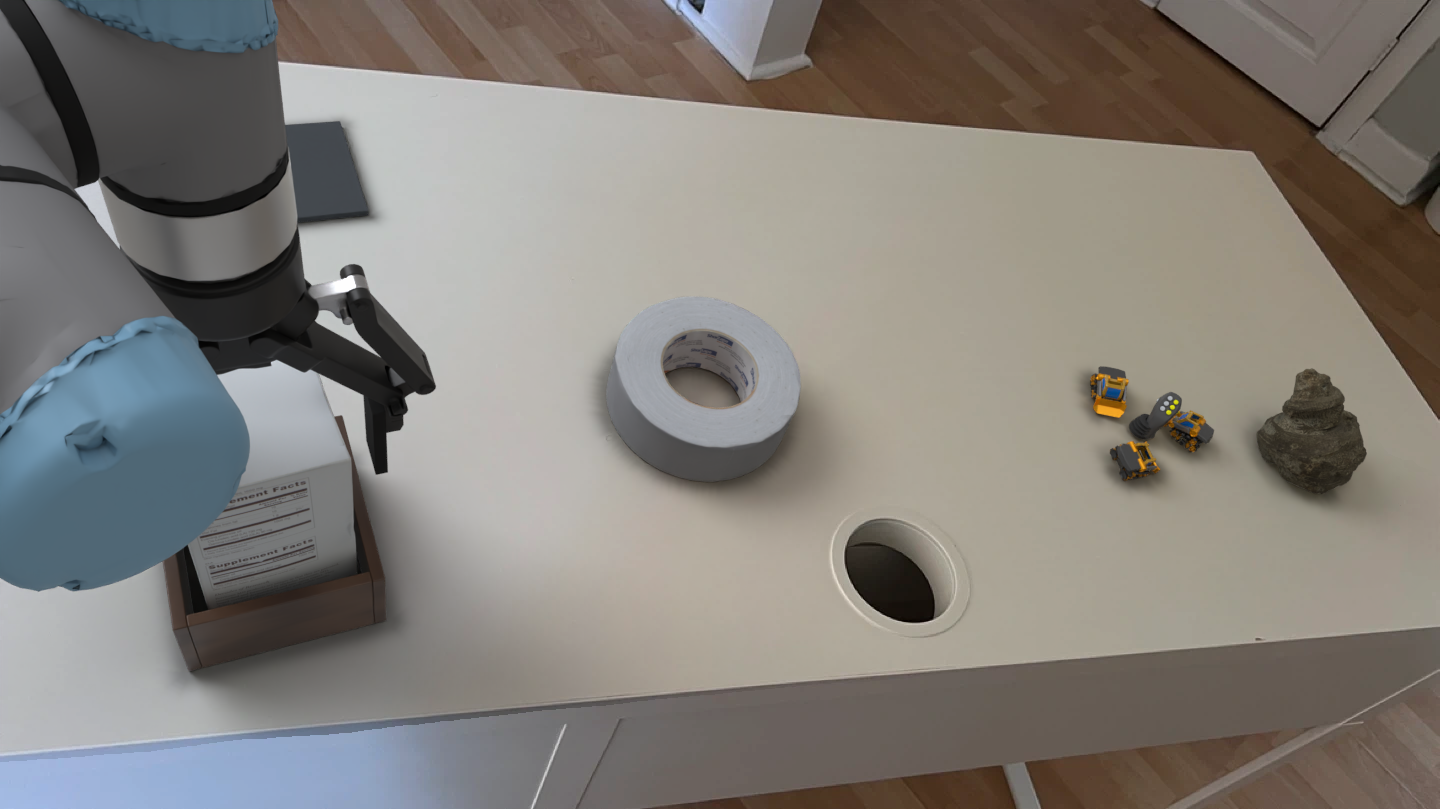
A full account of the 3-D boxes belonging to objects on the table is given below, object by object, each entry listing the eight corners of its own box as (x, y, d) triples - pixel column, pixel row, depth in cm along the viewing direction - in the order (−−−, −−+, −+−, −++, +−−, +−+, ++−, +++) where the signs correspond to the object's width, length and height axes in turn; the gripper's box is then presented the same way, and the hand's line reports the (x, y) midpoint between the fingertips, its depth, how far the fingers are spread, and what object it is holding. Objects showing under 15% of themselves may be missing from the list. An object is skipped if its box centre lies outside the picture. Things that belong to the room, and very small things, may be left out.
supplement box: (184, 521, 72) (136, 365, 59) (324, 484, 76) (307, 331, 63) (216, 643, 68) (172, 505, 55) (363, 597, 72) (354, 458, 59)
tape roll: (796, 487, 86) (814, 452, 82) (607, 477, 82) (618, 439, 78) (773, 341, 95) (789, 303, 91) (603, 326, 91) (612, 286, 87)
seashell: (1338, 354, 103) (1256, 354, 100) (1448, 396, 92) (1361, 397, 89) (1304, 462, 107) (1224, 465, 103) (1406, 514, 96) (1321, 518, 93)
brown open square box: (188, 672, 66) (172, 630, 62) (162, 498, 73) (146, 449, 68) (386, 621, 71) (385, 578, 67) (345, 462, 78) (342, 414, 73)
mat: (138, 239, 86) (136, 234, 85) (122, 141, 91) (121, 135, 91) (368, 215, 93) (368, 210, 92) (340, 125, 99) (340, 120, 98)
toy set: (1052, 437, 96) (1078, 405, 92) (1095, 368, 103) (1121, 336, 99) (1170, 515, 93) (1201, 486, 90) (1206, 439, 100) (1236, 409, 97)
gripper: (461, 148, 55) (451, 393, 72) (-124, 201, 45) (20, 472, 62) (502, 251, 51) (481, 485, 68) (-125, 335, 41) (29, 585, 58)
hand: (262, 479), depth 65 cm, fingers open, 13 cm apart
